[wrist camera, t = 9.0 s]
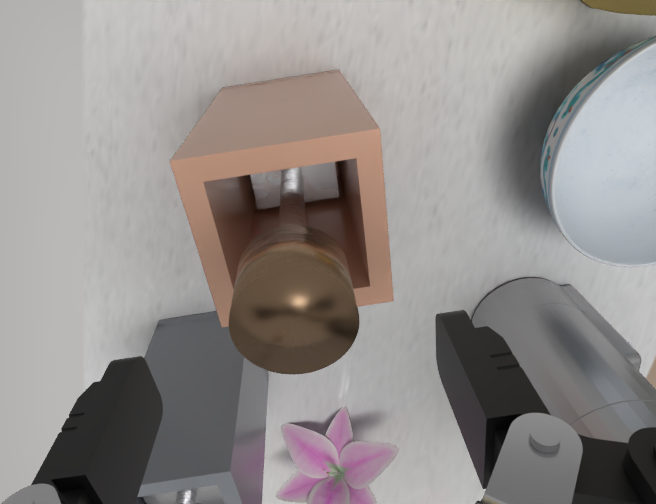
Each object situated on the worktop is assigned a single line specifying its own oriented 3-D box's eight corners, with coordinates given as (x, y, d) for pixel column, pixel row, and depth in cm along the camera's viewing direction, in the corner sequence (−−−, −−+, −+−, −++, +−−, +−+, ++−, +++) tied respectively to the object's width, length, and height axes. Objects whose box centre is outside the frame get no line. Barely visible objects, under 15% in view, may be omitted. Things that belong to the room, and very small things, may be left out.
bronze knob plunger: (327, 111, 27) (370, 238, 13) (338, 193, 30) (384, 374, 15) (240, 125, 27) (187, 267, 13) (258, 205, 30) (231, 398, 15)
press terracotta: (339, 69, 31) (380, 128, 17) (351, 180, 35) (393, 301, 21) (222, 87, 31) (169, 161, 17) (248, 196, 35) (221, 327, 21)
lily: (404, 403, 49) (397, 447, 40) (394, 507, 50) (385, 574, 41) (296, 385, 52) (265, 422, 42) (288, 484, 53) (257, 542, 43)
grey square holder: (250, 306, 40) (230, 471, 26) (268, 373, 44) (259, 548, 30) (159, 320, 40) (90, 492, 26) (185, 386, 44) (137, 567, 30)
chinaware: (741, 97, 34) (851, 122, 28) (589, 249, 40) (650, 300, 33) (613, -33, 30) (709, -42, 23) (460, 159, 35) (501, 198, 28)
